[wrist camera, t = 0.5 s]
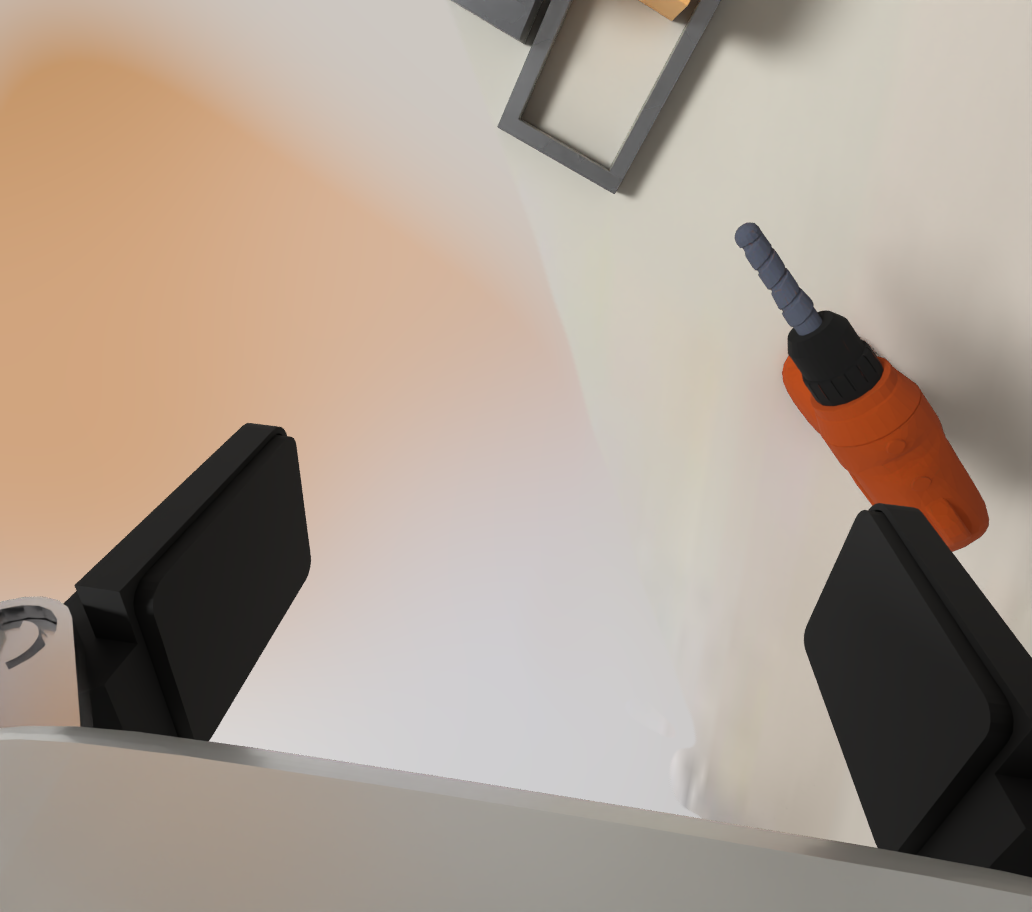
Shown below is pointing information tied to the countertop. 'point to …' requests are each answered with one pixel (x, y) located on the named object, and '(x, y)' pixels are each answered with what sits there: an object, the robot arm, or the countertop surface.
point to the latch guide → (644, 120)
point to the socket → (505, 14)
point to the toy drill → (868, 409)
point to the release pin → (667, 7)
